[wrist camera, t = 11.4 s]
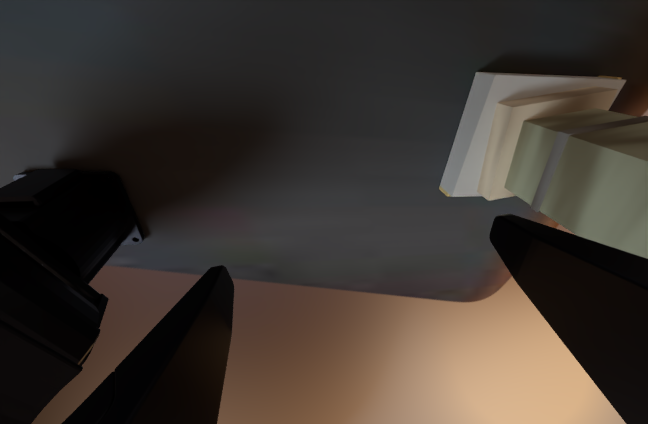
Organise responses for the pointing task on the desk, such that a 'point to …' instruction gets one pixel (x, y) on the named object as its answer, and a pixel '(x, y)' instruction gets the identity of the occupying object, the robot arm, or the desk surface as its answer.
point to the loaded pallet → (573, 164)
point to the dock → (480, 113)
